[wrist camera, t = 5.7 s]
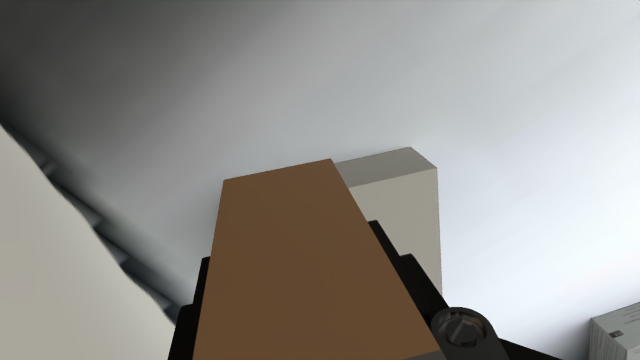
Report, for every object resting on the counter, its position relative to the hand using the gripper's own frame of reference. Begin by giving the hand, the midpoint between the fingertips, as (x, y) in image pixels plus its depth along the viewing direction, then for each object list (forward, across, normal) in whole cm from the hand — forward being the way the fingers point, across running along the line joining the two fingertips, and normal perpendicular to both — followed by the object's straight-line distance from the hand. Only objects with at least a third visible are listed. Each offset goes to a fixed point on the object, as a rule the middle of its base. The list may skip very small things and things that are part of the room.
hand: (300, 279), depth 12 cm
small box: (+20, -37, +34) cm, 54 cm away
